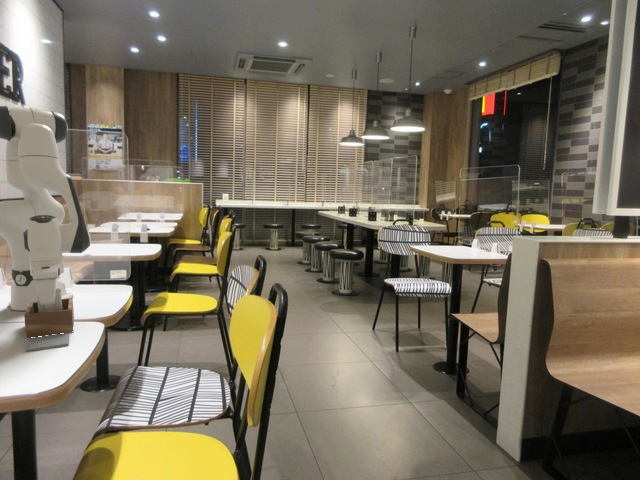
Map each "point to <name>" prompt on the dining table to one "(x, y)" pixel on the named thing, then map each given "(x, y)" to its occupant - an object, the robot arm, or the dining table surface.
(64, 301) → the box
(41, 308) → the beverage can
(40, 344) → the mat
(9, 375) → the dining table surface
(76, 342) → the dining table surface
